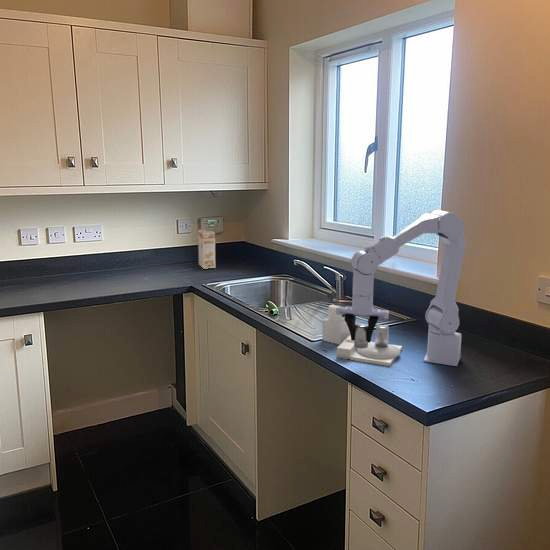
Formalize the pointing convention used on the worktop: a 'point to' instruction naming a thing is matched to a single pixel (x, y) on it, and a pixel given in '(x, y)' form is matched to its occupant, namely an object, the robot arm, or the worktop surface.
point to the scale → (368, 352)
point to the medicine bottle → (335, 326)
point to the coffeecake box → (206, 248)
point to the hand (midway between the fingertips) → (361, 340)
